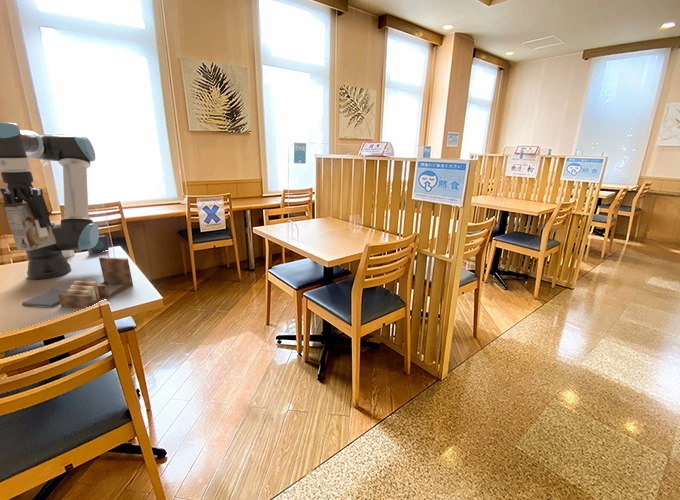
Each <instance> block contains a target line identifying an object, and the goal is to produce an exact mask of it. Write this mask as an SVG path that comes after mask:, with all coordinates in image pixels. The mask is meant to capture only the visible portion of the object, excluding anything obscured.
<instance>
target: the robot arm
mask: <svg viewBox="0 0 680 500" xmlns="http://www.w3.org/2000/svg"><path fill="white" fill-rule="evenodd" d="M28 158H29V159H36V160H37V159H38V160H43V161H53V162H58V164H59V165H61V167H62V175H63V176H62V177H63V179H62V180H63V202H64V204H63V205H64V208H63V209H64V217H63V218H60V224H59V225H56V223H55V222H54V221H50V222H51V226H52V229H53V233H54V236H55V240H56V244H53V245H49V246H45V247H42V248H38V249H35V250H31V251H30V250H25V253H26V256H27V259H28V261H27V262H28V264H27V271H26V274H27V275H26V276H27V278H28V279H30V280H46V279H51V278H57V277H60V276H63V275H65V274H68V273H70V272H71V270H72V268H71V267H72V266H71V264H70V263H69V262H68V260H67V258H64V256H63V255H62V251H66V250H74V251H77V250H78V251H79V250H82V251H83V250H88V249H90V248H93V247H95V246H96V244H97V242H98V239H99V236H100V231H99V227H98V225H97V224H96V223H94V220H93V219H91V218H90V216H89V199H88V198H89V197H88V196H89V195H88V193H89V192H88V175H87V174H88V173H87V169H88V168H90V167H91V162H95V160H96V152H95V149H94V146H93V145H92V142H91V141H90V139H89V138H88V137H87V136H85V135H77V134H73V135H72V134H70V135H69V134H38V133H36V131H35V132H34V131H33V130H32V131H31V130H28V129H20V126H19V125H18V123H16V122H0V171H1V172H0V175H1V178H2V181H3V183H4V184H7V186H6V187H4V188H3V187H1V188H0V193H1V194H2V198H3V203H4V205H7V204H15V203H22V202H27V204H29V205H30V208H31V211H32V212H33V214H34V216H35V217H36V218H35V220H34V221H35V224H36V228H37V231H38V235H39V237H40V238H41V237H45V236H48V233H47V229H46V227H47V225H46V221H45V218H46V217H49V218H50V216H51V214H50V212H49V209H48V205H47V203H46V199H45V198H44V196H43V195H44V194H43V192H44V191H43V189H42V188H36V187H34V186H33V185H32V183H33V182H34V179H33V173H32V171H30V170H31V167H30V163H29V159H28Z"/></svg>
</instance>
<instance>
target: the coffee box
mask: <svg viewBox="0 0 680 500" xmlns="http://www.w3.org/2000/svg"><path fill="white" fill-rule="evenodd" d="M2 205H3V206H2V207H3V209H4V212H5V215H6V218H7V221H8V224H9V228H10V232H11V234H12V238H13V240H14V241H13V242H14V243H15V246H16V249H17V250H19V251H20V250H21V251H26V250H30V251H31V250H35V249H38V248H42V247H45V246H49V245H53V244H56V240H55V236H54V233H53V229H52V226H51V222H52V221H51V220H50V219H51V218H50V216H49V217H46V218H45V221H46V225H47V227H46V229H47V233H48V236H45V237H41V238H40V237H39V235H38V231H37V228H36V224H35V221H34V220H35V218H36V217H35V216H34V214H33V212H32V211H31V208H30V205H29V204H27V202H25V201H23V202H22V203H15V204H7V205H5V204H2Z"/></svg>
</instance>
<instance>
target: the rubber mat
mask: <svg viewBox="0 0 680 500" xmlns="http://www.w3.org/2000/svg"><path fill="white" fill-rule="evenodd" d="M67 290H68V289H54V288H53V289H50V290H47V291H45V292H43V293H41V294H39V295H37V296H34V297H32V298H30V299H28V300H26V301H23V302H21V304H22V306H29V307H43V308H54V307H56V306H57V305H61V303H60V299H59V296H58V294H60V293H67Z"/></svg>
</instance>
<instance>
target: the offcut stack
mask: <svg viewBox="0 0 680 500" xmlns="http://www.w3.org/2000/svg"><path fill="white" fill-rule="evenodd" d="M72 283H73V284H71V285H70V286H69V287H70V288H69V289H66V290H67V293H68V294H83V295H91V296H92V300H93V302H94V301H96V300H98V299H100V295H99V291H98V286H97V284H98V283H97V281H87V280H75V281H73V282H72Z"/></svg>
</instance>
